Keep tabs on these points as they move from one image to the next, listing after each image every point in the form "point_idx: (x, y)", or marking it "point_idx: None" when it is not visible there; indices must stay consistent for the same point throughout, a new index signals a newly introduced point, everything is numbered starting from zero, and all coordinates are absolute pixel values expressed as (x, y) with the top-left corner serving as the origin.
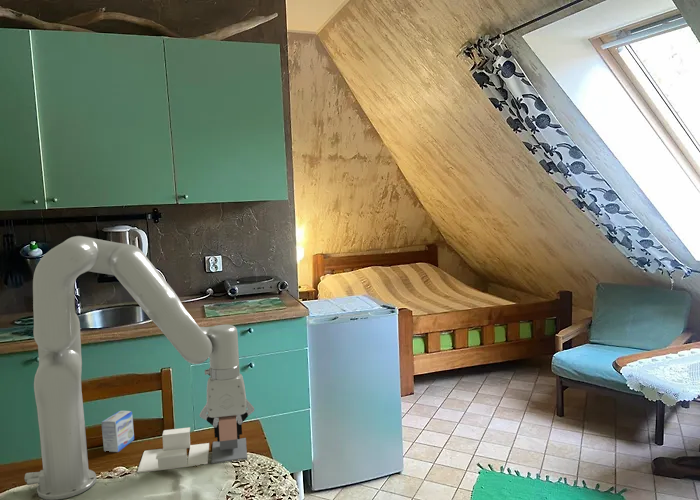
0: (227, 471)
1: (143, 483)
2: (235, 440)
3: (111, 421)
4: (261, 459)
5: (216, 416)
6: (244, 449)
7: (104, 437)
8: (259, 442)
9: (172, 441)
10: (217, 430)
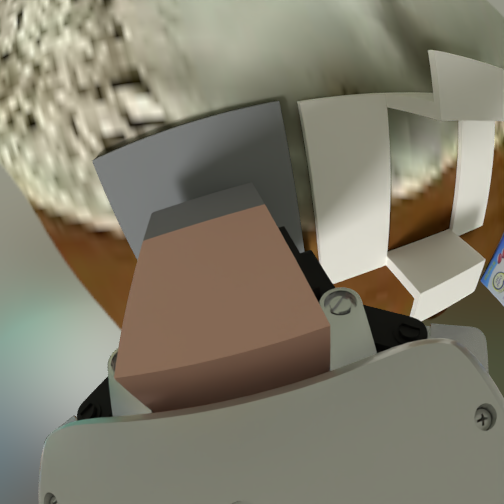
0: (165, 25)
1: (467, 25)
2: (155, 233)
3: None
4: (36, 168)
5: (376, 367)
6: (138, 241)
7: None
8: (114, 309)
9: (448, 253)
10: (305, 271)
